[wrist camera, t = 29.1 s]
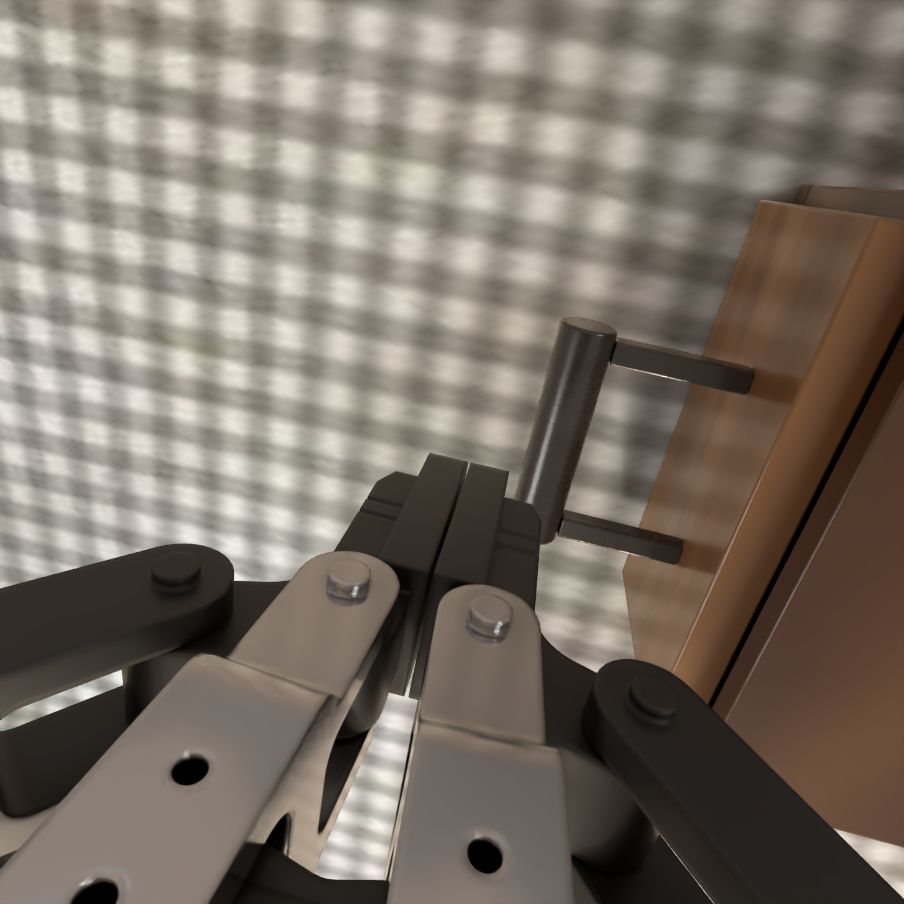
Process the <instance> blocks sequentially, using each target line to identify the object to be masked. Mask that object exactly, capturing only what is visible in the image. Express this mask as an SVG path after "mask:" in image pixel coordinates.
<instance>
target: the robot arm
mask: <svg viewBox="0 0 904 904" xmlns="http://www.w3.org/2000/svg"><path fill="white" fill-rule="evenodd" d="M467 466H468V462H466V461H462V460H458V459H454V458H450V457H445V456H441V455H437V454H433V453H430V454H429V455H428V457H427V459H426V461H425V463H424V465H423V467H422V469H421V471H420V473H419V475H418V477H417V476H413V475H409V474H405V473H401V472H397V471H396V472H394V473H392V474H390V475H388V476H386V477H384V478H383V479H381V480H379V481H377V482H376V484H375V486H374V487H373V489H372V490H371V492H370V494H369V495H368V498H367V499H366V500H365V502H364V503H363V505H362V507H361V508H360V512H358V513H357V515H356V516H355V518H354V520H353V521H352V523H351V524H350V526H349V528H348V529H347V531H346V533H345V534H344V536H343V537H342V539H341V541H340V542H339V544H338V545H337V547H336V549H335V550H334V552H329V553H325V554H321V555H318V556H316V557H314V558H312V559H310V560H309V561H307V562H306V563H305V564H304V565H303V566H302V567H301V568H300V569H299V570H298V572H297V573H296V574H295V575H294V576H293V578H292V579H291V580H289V581H280V582H255V581H234V569H233V565H232V564H231V562H230V560H229V559H228V558H227V557H226V556H225V555H223V554H222V553H220V552H219V551H217V550H214V549H212V548H209V547H206V546H202V545H196V544H170V545H164V546H159V547H155V548H151V549H147V550H143V551H140V552H136V553H132V554H128V555H125V556H121V557H117V558H113V559H110V560H106V561H102V562H98V563H95V564H91V565H87V566H83V567H80V568H76V569H72V570H68V571H65V572H61V573H57V574H53V575H49V576H46V577H42V578H38V579H34V580H31V581H27V582H23V583H19V584H16V585H12V586H8V587H4V588H1V589H0V720H1V719H2V718H4V717H5V716H6V715H8V714H9V713H11V712H13V711H15V710H16V709H19V708H21V707H23V706H26V705H29V704H31V703H34V702H36V701H39V700H42V699H44V698H47V697H50V696H52V695H55V694H58V693H60V692H63V691H66V690H68V689H71V688H74V687H76V686H79V685H82V684H84V683H87V682H90V681H92V680H95V679H98V678H100V677H103V676H105V675H108V674H111V673H113V672H116V671H119V670H121V669H122V676H123V686H120V687H117V688H115V689H112V690H110V691H107V692H105V693H102V694H100V695H97V696H95V697H92V698H89V699H87V700H84V701H82V702H79V703H77V704H74V705H72V706H69V707H67V708H64V709H61V710H59V711H56V712H54V713H51V714H49V715H46V716H44V717H41V718H39V719H36V720H33V721H31V722H28V723H26V724H23V725H21V726H18V727H16V728H13V729H10V730H6V731H0V904H713V903H712V901H713V902H714V904H904V899H903V898H902V897H901V896H900V895H899V894H898V893H897V892H896V891H895V890H894V889H893V888H892V887H891V886H890V885H889V884H888V883H887V882H886V881H885V880H884V879H883V878H882V877H881V876H880V875H879V874H878V873H877V872H876V871H875V870H874V869H873V868H872V867H871V866H870V865H869V864H868V863H867V862H866V861H865V860H864V859H863V858H862V857H861V856H860V855H859V854H858V853H857V852H856V851H855V850H854V849H853V848H852V847H851V846H850V845H849V844H848V843H847V842H846V841H845V840H844V839H843V838H842V837H841V836H840V835H839V834H838V833H837V832H836V831H835V830H834V829H833V828H832V827H831V826H830V825H829V824H828V823H827V822H826V821H825V820H824V819H823V818H822V817H821V816H820V815H819V814H818V813H817V812H816V811H815V810H814V809H813V808H812V807H811V806H810V805H809V804H808V803H807V802H806V801H805V800H804V799H803V798H802V797H801V796H800V795H799V794H798V793H797V792H796V791H795V790H793V789H792V788H791V787H790V786H789V785H788V784H787V783H786V782H785V781H784V780H783V779H782V778H781V777H780V776H779V775H778V774H777V773H776V772H775V771H774V770H773V769H772V768H771V767H770V766H769V765H768V764H767V763H766V762H765V761H764V760H763V759H762V758H761V757H760V756H759V755H758V754H757V753H756V752H755V751H754V750H753V749H752V748H751V747H750V746H749V745H748V744H747V743H746V742H745V741H744V740H743V739H742V738H741V737H740V736H739V735H738V734H737V733H736V732H735V731H734V730H733V729H732V728H731V727H730V726H729V725H728V724H727V723H726V722H725V721H724V720H723V719H722V718H721V717H720V716H719V715H718V714H717V713H716V712H715V711H714V710H713V709H712V708H711V707H710V706H709V705H708V704H707V703H706V702H705V701H704V700H703V699H702V698H701V697H700V696H699V695H698V694H697V693H696V692H695V691H694V690H693V689H692V688H691V687H689V686H688V685H687V684H686V683H685V682H684V681H683V680H681V679H680V678H678V677H677V676H676V675H674V674H673V673H671V672H669V671H667V670H666V669H664V668H661V667H659V666H657V665H654V664H651V663H648V662H645V661H640V660H633V659H620V660H615V661H612V662H610V663H607V664H606V665H604V666H603V667H602V668H601V669H600V670H599V671H598V672H597V673H596V672H594V671H592V670H590V669H588V668H586V667H584V666H582V665H580V664H578V663H576V662H575V661H573V660H571V659H569V658H568V657H566V656H564V655H563V654H562V653H560V652H559V651H558V650H556V649H555V648H554V647H553V646H552V645H551V644H550V643H549V642H548V641H547V640H546V639H545V637H544V636H543V634H542V633H541V628H540V622H539V620H538V617H537V615H536V614H535V600H536V588H537V575H538V562H539V550H540V537H541V524H542V521H541V519H540V518H539V516H538V514H537V513H536V511H535V509H534V507H533V506H532V504H529V503H525V502H521V501H517V500H513V499H509V498H505V497H504V495H505V490H506V485H507V480H508V475H509V471H505V470H500V469H496V468H492V467H488V466H484V465H479V464H475V463H471V464H470V467H469V470H468V473H467V476H466V472H467ZM465 477H466V479H465ZM464 481H465V482H464ZM416 657H417V658H416ZM415 660H416V663H415ZM414 663H415V668H414V673H413V678H412V683H411V688H410V693H409V698H413V699H416V700H418V703H417V708H416V713H415V717H414V723H413V727H412V731H411V736H410V741H409V745H408V750H407V755H406V761H405V766H404V771H403V777H402V782H401V787H400V793H399V798H398V803H397V809H396V814H395V819H394V825H393V830H392V835H391V840H390V846H389V851H388V856H387V862H386V867H385V872H384V877H383V880H333V879H326V878H323V877H320V876H318V875H316V874H314V873H315V870H316V867H317V864H318V861H319V858H320V856H321V853H322V851H323V849H324V846H325V844H326V842H327V839H328V837H329V835H330V833H331V831H332V828H333V826H334V824H335V822H336V819H337V817H338V815H339V813H340V810H341V808H342V806H343V804H344V801H345V799H346V797H347V795H348V792H349V790H350V788H351V786H352V783H353V781H354V779H355V777H356V774H357V772H358V770H359V768H360V765H361V763H362V761H363V759H364V756H365V754H366V752H367V750H368V748H369V745H370V743H371V741H372V738H373V735H374V731H375V726H376V722H377V720H378V719H379V717H380V715H381V713H382V711H383V708H384V705H385V702H386V699H387V696H388V693H389V692H390V693H393V694H397V695H401V696H404V695H405V692H406V689H407V686H408V682H409V679H410V676H411V673H412V670H413V667H414ZM660 834H661V835H662V837H663V838H664V839H665V840H666V842H667V843H668V844H669V846H670V847H671V848H672V849H673V851H674V852H675V853H676V855H677V856H678V857H679V859H680V860H681V861H682V862H683V864H684V865H685V866H686V868H687V869H688V870H689V871H690V873H691V874H692V875H693V877H694V878H695V879H696V880H697V882H698V883H699V884H700V886H701V887H702V888H703V889H704V891H705V892H706V893H707V895H708V896H709V897H710V898H711V900H712V901H711V900H710V899H709V897H708V896H707V895H706V894H705V892H704V891H703V890H702V888H701V887H700V886H699V884H698V883H697V882H696V881H695V879H694V878H693V877H692V875H691V874H690V873H689V872H688V870H687V869H686V868H685V866H684V865H683V864H682V863H681V861H680V860H679V859H678V857H677V856H676V855H675V853H674V852H673V851H672V850H671V848H670V847H669V846H668V844H667V843H666V842H665V841H664V839H663V838H662V837H661V835H660Z"/></svg>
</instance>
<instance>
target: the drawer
mask: <svg viewBox="0 0 904 904" xmlns="http://www.w3.org/2000/svg"><path fill="white" fill-rule="evenodd" d="M903 332H904V221H902V220H897V219H892V218H887V217H882V216H875V215H868V214H861V213H854V212H847V211H840V210H833V209H825V208H818V207H811V206H804V205H797V204H790V203H783V202H776V201H769V200H761V201H760V202H759V204H758V207H757V210H756V212H755V215H754V218H753V221H752V223H751V226H750V229H749V231H748V234H747V237H746V239H745V242H744V245H743V247H742V250H741V253H740V256H739V258H738V261H737V264H736V266H735V269H734V272H733V274H732V277H731V280H730V282H729V285H728V288H727V291H726V293H725V296H724V299H723V301H722V304H721V307H720V309H719V312H718V315H717V317H716V320H715V323H714V326H713V328H712V331H711V334H710V336H709V339H708V342H707V344H706V347H705V350H704V353H703V355H702V356H700V355H696V354H691V353H687V352H682V351H678V350H673V349H669V348H664V347H660V346H655V345H650V344H646V343H641V342H637V341H632V340H628V339H623V338H619V337H617V331H616V330H615V329H614V328H612V327H611V326H609V325H606V324H604V323H601V322H598V321H594V320H590V319H586V318H580V317H564V318H562V319H561V321H560V324H559V327H558V331H557V335H556V339H555V343H554V346H553V350H552V354H551V358H550V362H549V366H548V369H547V373H546V377H545V381H544V385H543V389H542V392H541V396H540V400H539V404H538V408H537V411H536V415H535V419H534V423H533V427H532V431H531V434H530V438H529V442H528V446H527V450H526V453H525V457H524V461H523V465H522V469H521V473H520V476H519V480H518V484H517V488H516V492H515V495H514V499H513V500H517V501H521V502H525V503H529V504H532V506H533V507H534V509H535V511H536V513H537V514H538V516H539V518H540V519H541V521H542V524H541V537H540V545H545V544H549V543H551V542H552V541H553V540H554V539H555V537H556V534H557V531H558V536H559V537H562V538H566V539H570V540H574V541H578V542H583V543H587V544H591V545H595V546H599V547H603V548H607V549H611V550H615V551H619V552H623V553H627V554H629V555H628V557H627V560H626V563H625V565H624V568H623V578H624V585H625V592H626V599H627V606H628V613H629V619H630V626H631V633H632V640H633V647H634V654H635V660H640V661H645V662H648V663H651V664H654V665H657V666H659V667H661V668H664V669H666V670H667V671H669V672H671V673H673V674H674V675H676V676H677V677H678V678H680V679H681V680H683V681H684V682H685V683H686V684H687V685H688V686H689V687H691V688H692V689H693V690H694V691H695V692H696V693H697V694H698V695H699V696H700V697H701V698H702V699H703V700H704V701H705V702H706V703H707V704H708V705H709V703H710V701H711V699H712V697H713V695H714V693H715V691H716V689H717V687H718V685H719V683H720V681H721V679H722V677H723V675H724V673H725V671H726V669H727V667H729V670H730V672H731V670H732V668H733V666H734V664H735V662H736V660H737V658H738V656H739V654H740V653H741V651H742V649H743V647H744V645H745V643H746V641H747V639H748V637H749V635H750V633H751V631H752V629H753V627H754V625H755V623H756V621H757V619H758V617H759V615H760V613H761V611H762V609H763V607H764V605H765V603H766V601H767V599H768V597H769V595H770V593H771V592H772V590H773V588H774V586H775V584H776V582H777V580H778V578H779V576H780V574H781V572H782V570H783V568H784V566H785V564H786V562H787V560H788V558H789V556H790V554H791V552H792V550H793V548H794V546H795V544H796V542H797V540H798V538H799V536H800V534H801V532H802V531H803V529H804V527H805V525H806V523H807V521H808V519H809V517H810V515H811V513H812V511H813V509H814V507H815V505H816V503H817V501H818V499H819V497H820V495H821V493H822V491H823V489H824V487H825V485H826V483H827V481H828V479H829V477H830V475H831V473H832V471H833V470H834V468H835V466H836V464H837V462H838V460H839V458H840V456H841V454H842V452H843V450H844V448H845V446H846V444H847V442H848V440H849V438H850V436H851V434H852V432H853V430H854V428H855V426H856V424H857V422H858V420H859V418H860V416H861V414H862V412H863V410H864V409H865V407H866V405H867V403H868V401H869V399H870V397H871V395H872V393H873V391H874V389H875V387H876V385H877V383H878V381H879V379H880V377H881V375H882V373H883V371H884V369H885V367H886V365H887V363H888V361H889V359H890V357H891V355H892V353H893V351H894V349H895V348H896V346H897V344H898V342H899V340H900V338H901V336H902V334H903ZM609 361H610V364H611V365H612V366H616V367H620V368H625V369H629V370H634V371H638V372H643V373H647V374H651V375H656V376H660V377H665V378H669V379H674V380H678V381H683V382H687V383H691V384H692V385H691V388H690V390H689V393H688V396H687V398H686V401H685V404H684V406H683V409H682V412H681V414H680V417H679V420H678V423H677V425H676V428H675V431H674V433H673V436H672V439H671V441H670V444H669V447H668V449H667V452H666V455H665V458H664V460H663V463H662V466H661V468H660V471H659V474H658V476H657V479H656V482H655V484H654V487H653V490H652V493H651V495H650V498H649V501H648V503H647V506H646V509H645V511H644V514H643V517H642V520H641V522H640V525H639V528H637V527H633V526H629V525H625V524H621V523H617V522H613V521H609V520H605V519H600V518H596V517H592V516H588V515H584V514H580V513H576V512H572V511H568V510H564V508H565V505H566V502H567V498H568V495H569V492H570V488H571V485H572V482H573V479H574V475H575V472H576V469H577V466H578V462H579V459H580V456H581V452H582V449H583V446H584V443H585V439H586V436H587V433H588V429H589V426H590V423H591V420H592V416H593V413H594V410H595V407H596V403H597V400H598V397H599V393H600V390H601V387H602V384H603V380H604V377H605V374H606V370H607V367H608V364H609Z"/></svg>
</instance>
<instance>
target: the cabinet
mask: <svg viewBox="0 0 904 904" xmlns="http://www.w3.org/2000/svg"><path fill="white" fill-rule="evenodd" d="M794 204H797V205H804V206H811V207H818V208H825V209H833V210H840V211H847V212H854V213H861V214H868V215H875V216H882V217H887V218H892V219H897V220H902V221H904V190H893V189H874V188H856V187H837V186H818V185H802V186H801V187H800V190H799V193H798V195H797V198H796V200H795V203H794ZM709 706H710V707H711V708H712V709H713V710H714V711H715V712H716V713H717V714H718V715H719V716H720V717H721V718H722V719H723V720H724V721H725V722H726V723H727V724H728V725H729V726H730V727H731V728H732V729H733V730H734V731H735V732H736V733H737V734H738V735H739V736H740V737H741V738H742V739H743V740H744V741H745V742H746V743H747V744H748V745H749V746H750V747H751V748H752V749H753V750H754V751H755V752H756V753H757V754H758V755H759V756H760V757H761V758H762V759H763V760H764V761H765V762H766V763H767V764H768V765H769V766H770V767H771V768H772V769H773V770H774V771H775V772H776V773H777V774H778V775H779V776H780V777H781V778H782V779H783V780H784V781H785V782H786V783H787V784H788V785H789V786H790V787H791V788H792V789H793V790H795V791H796V792H797V793H798V794H799V795H800V796H801V797H802V798H803V799H804V800H805V801H806V802H807V803H808V804H809V805H810V806H811V807H812V808H813V809H814V810H815V811H816V812H817V813H818V814H819V815H820V816H821V817H822V818H823V819H824V820H825V821H826V822H827V823H828V824H829V825H830V826H831V827H832V828H834V829H837V830H841V831H845V832H848V833H852V834H856V835H859V836H863V837H867V838H870V839H874V840H878V841H882V842H885V843H889V844H893V845H896V846H900V847H904V332H903V334H902V336H901V338H900V340H899V342H898V344H897V346H896V348H895V349H894V351H893V353H892V355H891V357H890V359H889V361H888V363H887V365H886V367H885V369H884V371H883V373H882V375H881V377H880V379H879V381H878V383H877V385H876V387H875V389H874V391H873V393H872V395H871V397H870V399H869V401H868V403H867V405H866V407H865V409H864V410H863V412H862V414H861V416H860V418H859V420H858V422H857V424H856V426H855V428H854V430H853V432H852V434H851V436H850V438H849V440H848V442H847V444H846V446H845V448H844V450H843V452H842V454H841V456H840V458H839V460H838V462H837V464H836V466H835V468H834V470H833V471H832V473H831V475H830V477H829V479H828V481H827V483H826V485H825V487H824V489H823V491H822V493H821V495H820V497H819V499H818V501H817V503H816V505H815V507H814V509H813V511H812V513H811V515H810V517H809V519H808V521H807V523H806V525H805V527H804V529H803V531H802V532H801V534H800V536H799V538H798V540H797V542H796V544H795V546H794V548H793V550H792V552H791V554H790V556H789V558H788V560H787V562H786V564H785V566H784V568H783V570H782V572H781V574H780V576H779V578H778V580H777V582H776V584H775V586H774V588H773V590H772V592H771V593H770V595H769V597H768V599H767V601H766V603H765V605H764V607H763V609H762V611H761V613H760V615H759V617H758V619H757V621H756V623H755V625H754V627H753V629H752V631H751V633H750V635H749V637H748V639H747V641H746V643H745V645H744V647H743V649H742V651H741V653H740V654H739V656H738V658H737V660H736V662H735V664H734V666H733V668H732V670H731V672H730V670H729V667H727V669H726V671H725V673H724V675H723V677H722V679H721V681H720V683H719V685H718V687H717V689H716V691H715V693H714V695H713V697H712V699H711V701H710V703H709Z"/></svg>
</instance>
